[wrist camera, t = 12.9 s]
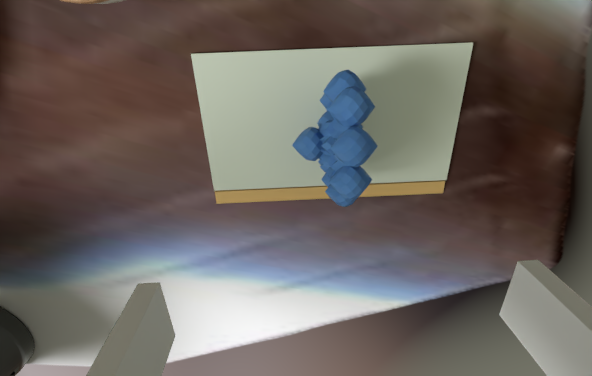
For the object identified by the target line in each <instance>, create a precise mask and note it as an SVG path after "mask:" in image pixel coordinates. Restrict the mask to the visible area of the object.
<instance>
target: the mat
mask: <svg viewBox="0 0 592 376" xmlns="http://www.w3.org/2000/svg"><path fill="white" fill-rule="evenodd" d="M472 48H473V43H471V42H470V43H445V44H420V45H395V46H370V47H345V48H320V49H295V50H270V51H245V52H220V53H194V54H191V57H192V63H193V69H194V75H195V81H196V87H197V93H198V99H199V105H200V111H201V116H202V122H203V128H204V134H205V140H206V146H207V152H208V158H209V164H210V170H211V176H212V182H213V187H214V191H219V190H241V189H263V188H285V187H306V186H326V185H325V183H324V182H323V181H322V180H321V179H322V178H323V176H324V175H325V173H326V172H324V171H323V170H322V169H321V168H320V166H321V165H320V164H319V162H318V161H319V160H320V159H317V160H316V161H310V160H306V159H305V158H304V157H303V156H301V155H300V154H299V153H298V152H297V151H296V149H295V148H294V147H293V146H292V145H293V143H294V142H295V140H296V139H297V138H298V136H299V135H300V134H301V133H302V132H303V131H304V130H305V129H307V128H308V127H315V128H317V129H318V128H319V126H318V124H317V123H318V121H319V119H320V118H321V116H322V115H323V114H324V113H325V112H326V111H327V110H326V108H325V107H324V106H323V104H322V103H321V102H320V99H321V98H322V96H323V95H324V92H323V91H324V89H325V88H326V86H327V85H328V84H329V82H330V81H331V79H332V78H333V77H334V76H335V75H336V74H337V73H338V72H341V71H344V70H350V71H352V72H353V73H355V74H356V75H357V76H358V77H359V79H360V80H361V81H362V83H363V84H364V86H365V87H366V91H365V93H366V94H367V96H368V97H369V98H370V99H371V101H372V102H373V104H374V106H375V108H374V109H373V111H372V112H371V114H370V115H369V116H368V118H367V119H366V120H365V121H364V122H363V123H362V124H361V125H362V126H363V128H362V129H363V130H364V131H366V132H367V133H368V134H369V135H370V136H371V137H372V139H373V140H374V141H375V143H376V144H377V145H378V146H377V148H376V149H375V151H374V152H373V154H372V155H371V156H370V157H369V158H368V160H367V161H366V162H365V163H364V164H362V165H360V166H361V167H362V168H363V169H364V170H365V171H366V172H367V174H368V175H369V176H370V177H371V179H372V181H371V182H370V184H371V183H393V182H415V181H436V180H447V175H448V170H449V165H450V160H451V155H452V150H453V145H454V140H455V134H456V129H457V124H458V119H459V114H460V109H461V104H462V99H463V94H464V89H465V83H466V78H467V73H468V68H469V63H470V58H471V53H472Z"/></svg>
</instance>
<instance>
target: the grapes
mask: <svg viewBox="0 0 592 376" xmlns="http://www.w3.org/2000/svg"><path fill="white" fill-rule="evenodd" d="M365 91H366V87H365V86H364V84H363V83H362V81H361V80H360V79H359V77H358V76H357V75H356V74H355V73H353V72H352V71H350V70H344V71H341V72H338V73H337V74H336V75H335V76H334V77H333V78H332V79H331V81H330V82H329V84H328V85H327V86H326V88H325V89H324V91H323V92H324V95H323V96H322V98H321V99H320V102H321V103H322V104H323V106H324V107H325V108H326V110H327V111H326V112H325V113H324V114H323V115H322V116H321V118H320V119H319V121H318V123H317V124H318V126H319V128H318V129H317V128H315V127H308V128H307V129H305V130H304V131H303V132H302V133H301V134H300V135H299V136H298V138H297V139H296V140H295V142H294V143H293V145H292V146H293V147H294V148H295V149H296V151H297V152H298V153H299V154H300V155H301V156H303V157H304V158H305V159H306V160H310V161H316V160H317V159H320V160H319V161H318V162H319V164H320V165H321V166H320V168H321V169H322V170H323V171H324V172H326V173H325V175H324V176H323V178H322V179H321V180H322V181H323V182H324V183H325V185H326V186H327V187H328V188H327V189H326V191H325V192H326V194H327V195H328V196H329V197H330V198H331V199H332V200H333V201H334V202H335V203H336V204H338V205H340V206H343V207H347V206H349V205H351V204H353V203H354V201H355V200H356V199H357V198H358V197H359V196H360V195H361V194H362V193H363V191H364V190H365V189H366V188H367V187H368V186H369V184H370V182H371V181H372V179H371V177H370V176H369V175H368V174H367V172H366V171H365V170H364V169H363V168H362V167H361V166H360V165H362V164H364V163H365V162H366V161H367V160H368V158H369V157H370V156H371V155H372V154H373V152H374V151H375V149H376V148H377V146H378V145H377V144H376V143H375V141H374V140H373V139H372V137H371V136H370V135H369V134H368V133H367V132H366V131H364V130H363V129H362V128H363V126H362V125H361V124H362V123H363V122H364V121H365V120H366V119H367V118H368V116H369V115H370V114H371V112H372V111H373V109H374V108H375V106H374V104H373V102H372V101H371V99H370V98H369V97H368V96H367V94H366V93H365Z"/></svg>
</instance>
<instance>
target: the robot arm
mask: <svg viewBox="0 0 592 376" xmlns="http://www.w3.org/2000/svg"><path fill="white" fill-rule="evenodd" d="M499 315H500V316H501V318H502V319H503V320H504V321H505V323H506V324H507V325H508V327H509V328H510V329H511V330H512V332H513V333H514V334H515V335H516V337H517V338H518V339H519V341H520V342H521V343H522V344H523V346H524V347H525V348H526V350H527V351H528V352H529V353H530V355H531V356H532V357H533V358H534V360H535V361H536V362H537V363H538V365H539V366H540V367H541V368H542V370H543V371H544V372H545V374H546V375H547V376H592V307H591V306H590V305H589V304H588V303H587V302H586V301H585V300H583V299H582V298H581V297H580V296H579V295H578V294H577V293H575V292H574V291H573V290H572V289H571V288H570V287H568V286H567V285H566V284H565V283H564V282H563V281H562V280H560V279H559V278H558V277H557V276H556V275H555V274H554V273H552V272H551V271H550V270H549V269H548V268H547V267H546V266H544V265H543V264H542V263H541V262H540V261H539V260H529V261H518V262H517V265H516V268H515V271H514V274H513V277H512V280H511V282H510V285H509V288H508V291H507V294H506V297H505V300H504V303H503V306H502V308H501V311H500V314H499ZM174 338H175V333H174V330H173V326H172V323H171V319H170V316H169V313H168V309H167V306H166V302H165V299H164V296H163V292H162V289H161V285H160V283H143V284H138V285H137V286H136V288H135V290H134V292H133V294H132V295H131V297H130V299H129V301H128V302H127V304H126V306H125V308H124V310H123V311H122V313H121V315H120V317H119V318H118V320H117V322H116V324H115V325H114V327H113V329H112V331H111V333H110V334H109V336H108V338H107V340H106V341H105V343H104V345H103V347H102V349H101V350H100V352H99V354H98V356H97V357H96V359H95V361H94V363H93V364H92V366H91V368H90V370H89V372H88V374H87V375H86V376H162V373H163V370H164V367H165V364H166V361H167V358H168V355H169V352H170V349H171V347H172V344H173V341H174ZM33 351H34V341H33V338H32V336H31V334H30V332H29V331H28V329H27V328H26V327H25V326H24V324H23V323H22V322H21V321H19V320H18V319H17V318H16V317H15V316H13V315H12V314H10V313H9V312H7V311H5V310H4V309H2V308H0V376H15V375H16V374H17V373H18V372H19V371H20V370H21V369H22V368H23V366H24V365H25V364H26V363H27V361H28V360H29V359H30V358H31V356H32V354H33Z"/></svg>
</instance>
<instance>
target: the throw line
mask: <svg viewBox="0 0 592 376" xmlns="http://www.w3.org/2000/svg"><path fill="white" fill-rule="evenodd" d="M444 186H445V180H437V181H415V182H394V183H372V184H369V186H368V187H367V188H366V189H365V190H364V191H363V193H362V194H361V195H360V196H359V197H370V196H391V195H412V194H434V193H443V191H444ZM327 188H328V187H327V186H307V187H285V188H263V189H242V190H220V191H215V196H216V202H217V204H220V203H241V202H262V201H284V200H305V199H327V198H330V197H329V196H328V195H327V194H326V192H325V191H326V189H327Z"/></svg>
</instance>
